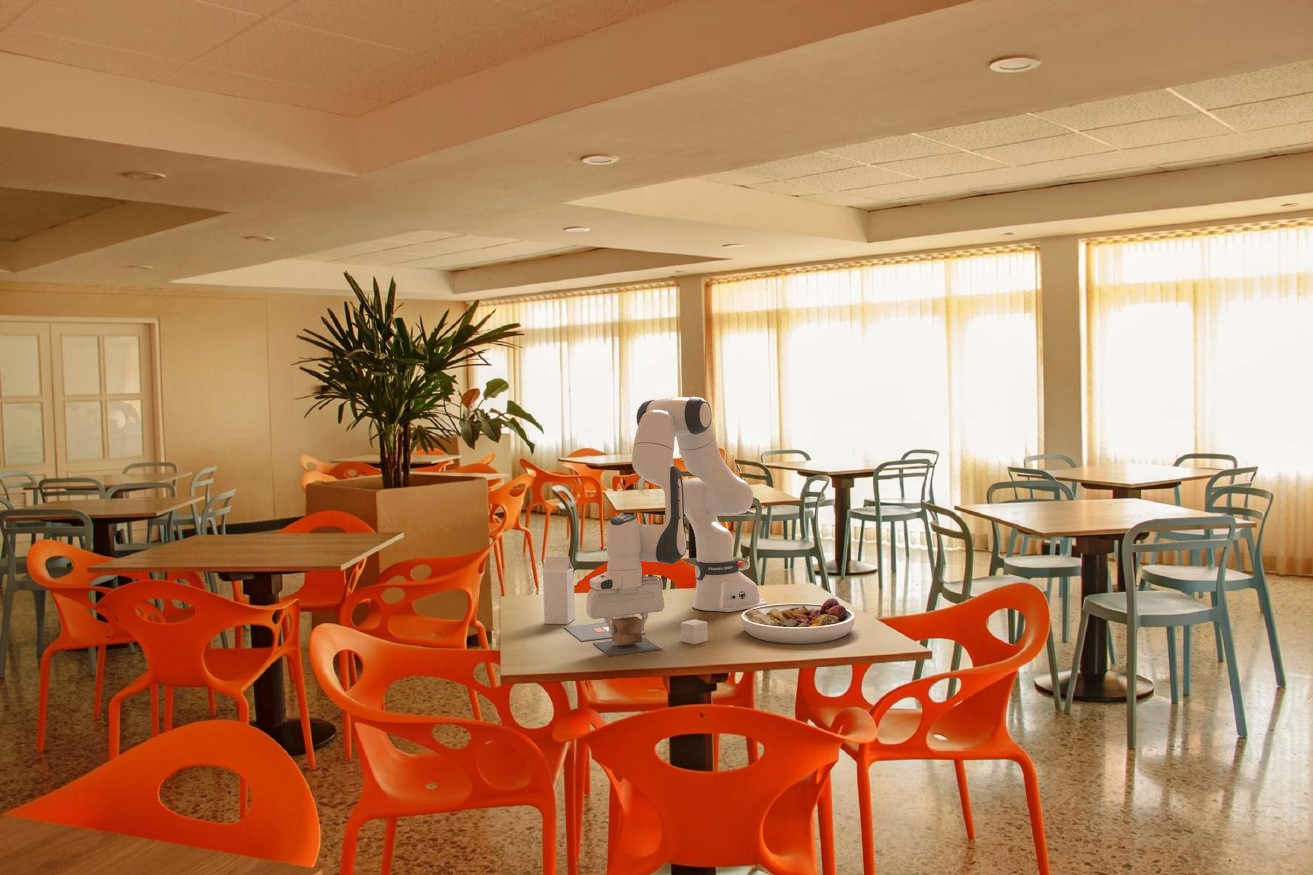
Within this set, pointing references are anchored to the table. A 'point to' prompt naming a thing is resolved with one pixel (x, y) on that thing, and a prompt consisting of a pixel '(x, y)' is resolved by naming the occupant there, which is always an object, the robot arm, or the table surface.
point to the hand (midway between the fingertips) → (626, 632)
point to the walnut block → (627, 629)
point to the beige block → (694, 631)
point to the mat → (626, 647)
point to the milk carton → (558, 591)
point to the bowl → (798, 622)
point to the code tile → (591, 631)
